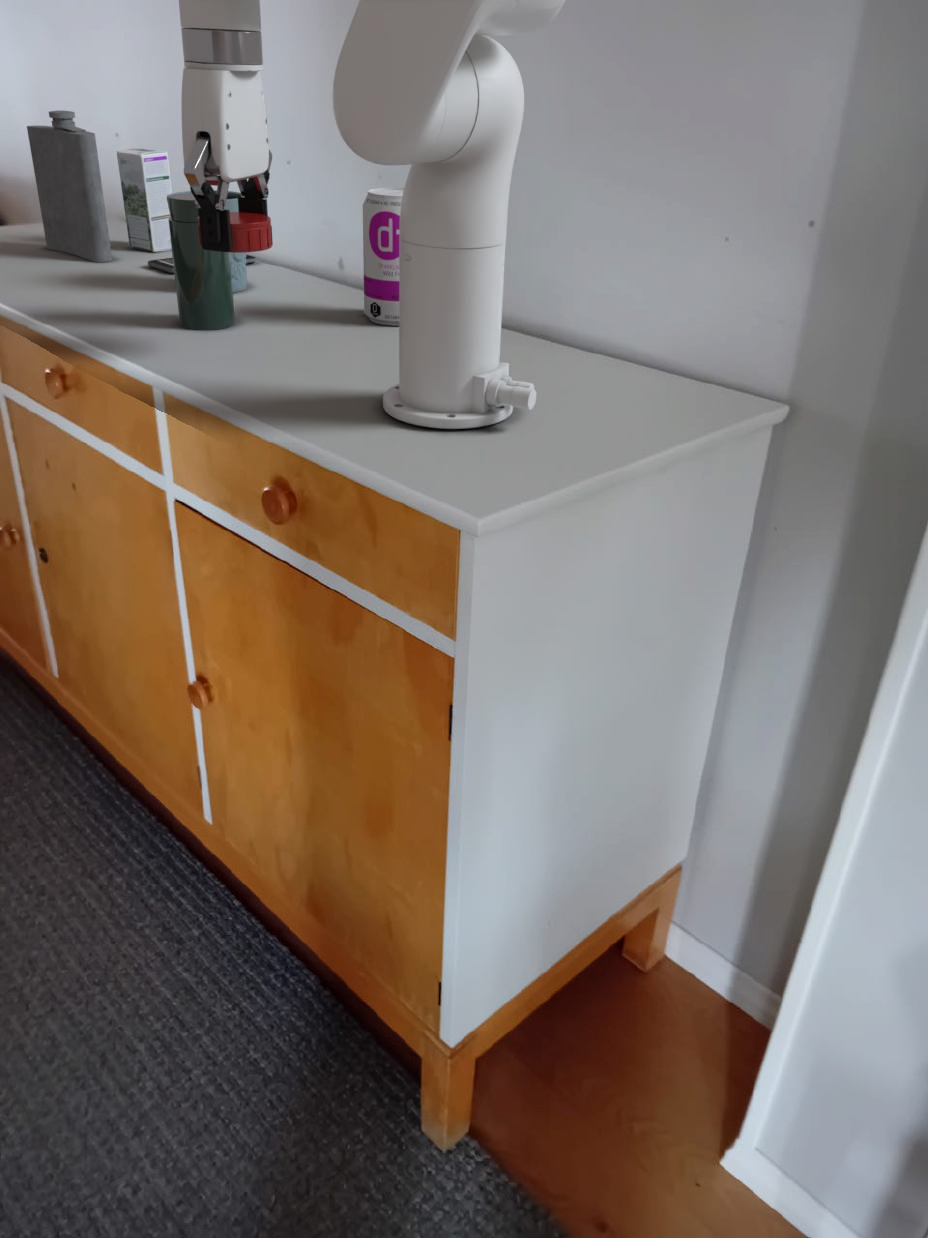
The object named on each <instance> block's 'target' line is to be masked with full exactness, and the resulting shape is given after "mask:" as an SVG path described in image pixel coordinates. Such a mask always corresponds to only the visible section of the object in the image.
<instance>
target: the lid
mask: <svg viewBox="0 0 928 1238" xmlns="http://www.w3.org/2000/svg"><path fill="white" fill-rule="evenodd" d="M271 218H272V217H270V216H269V215H268V216H266V215H262V214H257V213H247V212H230V225H231V239H232V250H231V251H229V252H231V253H244V252H246V253H257V252H261V251H263V252H264V251H266V250H270V249H271V248H272V247H273V245H274V243H273V228H272V227H273V225H272V219H271ZM198 231H199V242H200V246H201V247H202V245H201V233H200V222H199V217H198ZM218 252H220V251H218Z"/></svg>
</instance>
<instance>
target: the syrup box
mask: <svg viewBox="0 0 928 1238" xmlns="http://www.w3.org/2000/svg"><path fill="white" fill-rule="evenodd" d="M116 157H117V158H116V159H117V165H118V172H119V179H120V186H121V192H122V193H121V195H122V200H123V208H124V209H123V210H124V216H125V223H126V230H127V237H128V243H129V248H131V249H135V250H141V251H144V252H151V253H159V252H166V251H170V250H171V251H172V247H171V238H170V229H169V220H168V219H169V218H170V217H171V216H170V212H169V207H168V202H167V195H169V194H172V193H173V186H172V178H171V170H170V169H171V167H170V161H169V153H168V151H165V150H164V151H163V150H155V149H147V148H126V149H121V150H116Z"/></svg>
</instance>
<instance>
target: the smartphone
mask: <svg viewBox="0 0 928 1238" xmlns="http://www.w3.org/2000/svg"><path fill="white" fill-rule="evenodd" d="M256 262H257V257H256V256H253V255H249V254H246V265H248V264H255V263H256ZM147 265H148V266H149V267H150V268H153V269H157V270H160V271H162V272H166V273H169V274H174V265H173V257H167V258H160V259H151V260H148V261H147Z"/></svg>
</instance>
